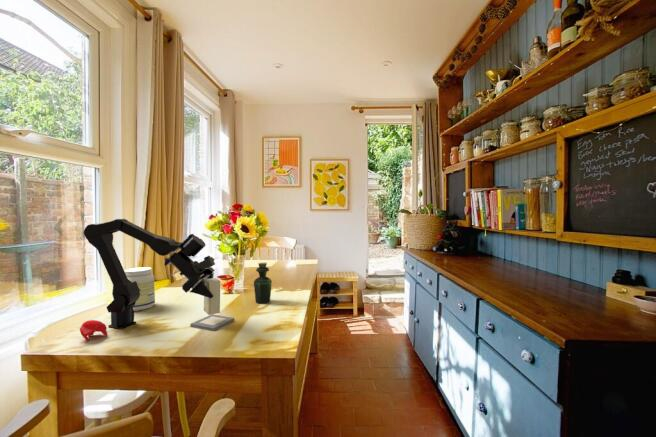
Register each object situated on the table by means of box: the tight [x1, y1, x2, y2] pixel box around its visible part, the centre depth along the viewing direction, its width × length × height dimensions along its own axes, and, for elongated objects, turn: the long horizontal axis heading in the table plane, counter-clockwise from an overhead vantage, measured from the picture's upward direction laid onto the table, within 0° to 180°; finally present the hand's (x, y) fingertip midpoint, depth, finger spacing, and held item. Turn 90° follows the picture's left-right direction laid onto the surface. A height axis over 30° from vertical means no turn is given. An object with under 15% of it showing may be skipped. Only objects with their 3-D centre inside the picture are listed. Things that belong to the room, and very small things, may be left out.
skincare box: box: [203, 277, 221, 316], centre depth 117 cm, size 6×4×12 cm
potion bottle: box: [253, 262, 273, 305], centre depth 144 cm, size 8×8×18 cm
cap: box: [79, 319, 108, 342], centre depth 105 cm, size 8×6×6 cm
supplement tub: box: [124, 266, 156, 312], centre depth 137 cm, size 12×12×17 cm
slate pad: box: [189, 314, 235, 332], centre depth 118 cm, size 11×11×1 cm
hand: (215, 294), depth 117 cm, fingers closed on skincare box, 7 cm apart
